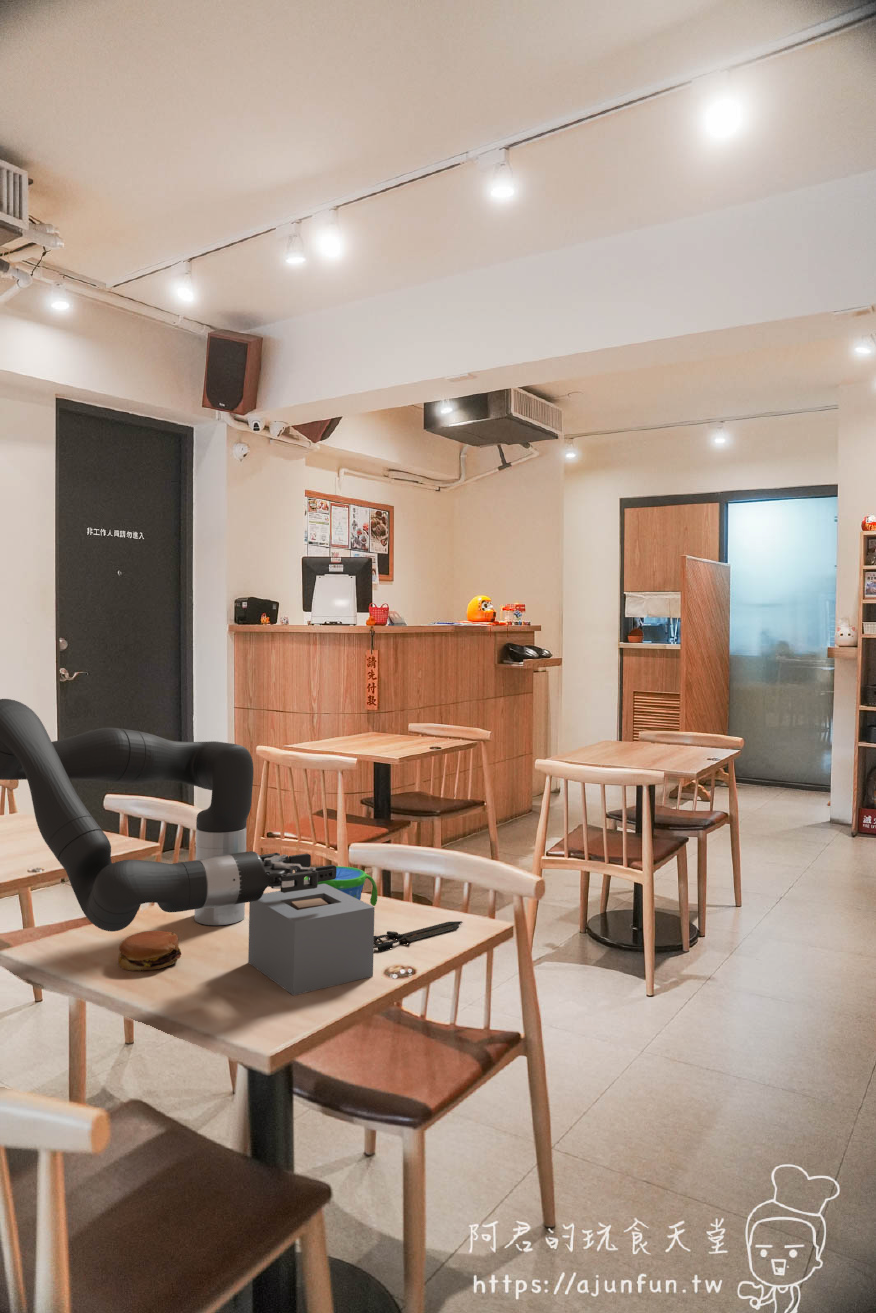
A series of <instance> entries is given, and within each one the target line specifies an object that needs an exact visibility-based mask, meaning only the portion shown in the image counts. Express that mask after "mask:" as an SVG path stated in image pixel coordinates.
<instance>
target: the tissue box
mask: <svg viewBox="0 0 876 1313" xmlns="http://www.w3.org/2000/svg"><path fill="white" fill-rule="evenodd" d="M317 898H321V899H322V900H324V901H325V902H327V903H328V905H323V906H318V907H312V908H307V909H301V910H296V909H294V908H293V907H291V902H293V901H301V900H309V899H317ZM248 903H249V907H248V908H249V911H248V912H249V914H248V916H249V917H248V918H249V919H248V954H247V955H248V959H247V960H248V961H247V962H248V964H250V965H251V966H252V967H253V968H255V969H256V970H258V971H260V972H261V973H262V974H264V975H265V976H266V977H267V978H269V979H270V980H271V981H273V982H274V983H276V984H277V985H278V986H280V987H281V988H283V989H284V990H285V991H286V992H287V993H289V994H290V995H292V996H296V995H301V994H305V993H308V992H313V991H316V990H317V991H318V990H321V989H325V988H328V987H329V988H330V987H335V986H337V985H342V984H346V983H350V982H355V981H359V980H363V979H368V978H371V977H370V976H372V977H374V950H375V948H374V946H375V945H374V936H375V906H373V905H371V904H368V903H366V902H364V901H362V900H361V899H360V900H358V899H356V898H354V897H352V896H350V895H348V894H346V893H344V892H342V891H340V890H338V889H335V888H333V887H331V886H329V885H327V884H319V885H318V887H317V888H315V889H306V890H299V891H292V892H286V893H283V892H280V890H277V891H270V892H264V893H263V895H262V897H261V898H260V899H259V900H257V901H252V902H248Z"/></svg>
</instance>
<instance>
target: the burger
mask: <svg viewBox="0 0 876 1313" xmlns="http://www.w3.org/2000/svg"><path fill="white" fill-rule="evenodd" d="M118 950H119V954H118V965H119V966H121V967H120V968H121V969H122V970H124V969H126V970H125V971H130V970H138V971H141V970H142V971H148V970H149V971H155V970H160V969H163V968H167V967H168V966H172V965H174V964H175V963H177V962H178V959H180V958H181V957H182V951H181V948H180V947H179V938H178V935H177V934H176V933H174V932H170V931H165V930H163V931H162V930H149V931H148V930H147V931H142V932H138V933H135V934H131V935H129V936H127V937H126V938H125V939H124V940H123V941H122V942H121V943H120V945H119V946H118Z"/></svg>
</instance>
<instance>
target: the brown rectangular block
mask: <svg viewBox="0 0 876 1313" xmlns="http://www.w3.org/2000/svg"><path fill="white" fill-rule="evenodd" d="M323 905H328V903H327V902H325V901H324V900H322V899H321V898H317V899H309V900H301V901H293V902H291V907H293V908H294V909H296V910H301V909H307V908H312V907H318V906H323Z"/></svg>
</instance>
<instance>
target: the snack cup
mask: <svg viewBox="0 0 876 1313" xmlns="http://www.w3.org/2000/svg"><path fill="white" fill-rule="evenodd" d="M335 866H336V878H335V879H334V880H327V881H321V882H318V885H319V884H327V885H329V886H331V887H333V888H335V889H338V890H340V891H342V892H344V893H346V894H348V895H350V896H352V897H354V898H356V899H358V900H361V898H362V893H363V889H364V885H365V882H366V879H367V880H369V881H370V882H371V885H372V886H371V887H372V889H371V893H370V894H371V896H370V900H369V903H370V905H371V906H373V907H376V905H377V902H378V897H379V896H378V895H379V894H378V887H377V886H378V885H377V884H376V881H375V880H374V878H373V877H372V876H371V875H369V874H367V873H366V872H365V871H364V870H362V869H360V868H356V867H352V866H342V865H340V866H338V865H335ZM304 880H308V877H305V878H304Z"/></svg>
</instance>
